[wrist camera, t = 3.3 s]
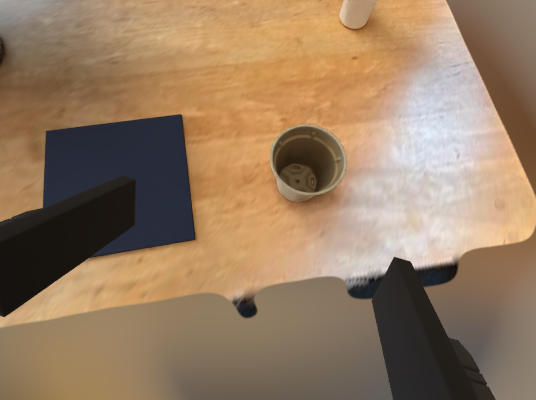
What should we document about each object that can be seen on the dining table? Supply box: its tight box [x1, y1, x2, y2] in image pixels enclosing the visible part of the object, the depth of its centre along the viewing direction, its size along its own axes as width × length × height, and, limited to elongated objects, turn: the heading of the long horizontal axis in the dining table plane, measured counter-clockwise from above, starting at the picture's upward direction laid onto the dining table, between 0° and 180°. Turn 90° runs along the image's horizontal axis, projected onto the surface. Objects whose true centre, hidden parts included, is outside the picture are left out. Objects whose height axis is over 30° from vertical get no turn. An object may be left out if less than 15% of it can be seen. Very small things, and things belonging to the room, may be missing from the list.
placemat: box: [43, 114, 195, 258], centre depth 39 cm, size 20×20×1 cm
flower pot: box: [270, 124, 347, 202], centre depth 37 cm, size 9×9×9 cm
